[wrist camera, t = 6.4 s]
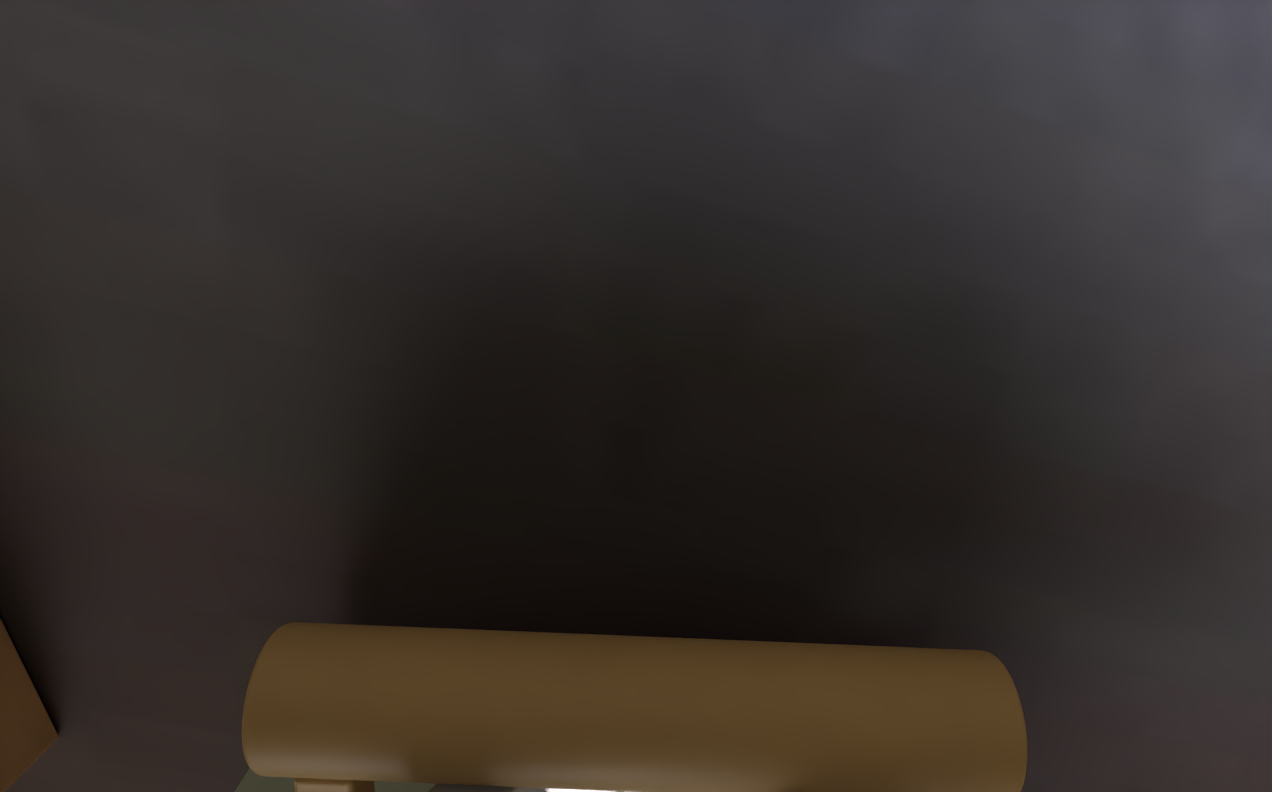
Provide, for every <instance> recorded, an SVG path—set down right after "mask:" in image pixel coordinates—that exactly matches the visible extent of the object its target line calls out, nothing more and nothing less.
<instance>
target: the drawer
mask: <svg viewBox="0 0 1272 792" xmlns="http://www.w3.org/2000/svg"><path fill="white" fill-rule="evenodd" d="M242 745H243V752H244V756H245V759H246V762H247V764H248V766H249V769H248V771H247V773H246V774H245V776H244V777H243V779H242V780H241V782H240V784H239V785H238V787H237V788H236V790H235V791H234V792H428V791H429V790H430V789H431V788H432V787H434V786H435V785H436V784H457V785H481V786H505V787H529V788H553V789H577V790H601V791H625V792H1021V790H1022V787H1023V784H1024V780H1025V775H1026V768H1027V736H1026V727H1025V721H1024V716H1023V711H1022V707H1021V703H1020V699H1019V696H1018V693H1017V690H1016V688H1015V685H1014V683H1013V680H1012V678H1011V676H1010V674H1009V673H1008V671H1007V669H1006V668H1005V666H1004V665H1003V664H1002V662H1001V661H1000V660H999V659H998V658H997V657H996V656H994V655H993V654H991V653H989V652H986V651H983V650H963V649H938V648H914V647H890V646H865V645H841V644H816V643H792V642H768V641H743V640H719V639H694V638H670V637H646V636H621V635H597V634H572V633H548V632H524V631H499V630H475V629H450V628H426V627H402V626H377V625H353V624H328V623H304V622H290V623H287V624H285V625H282V626H281V627H279V628H278V629H277V630H276V631H274V633H273V634H272V635H271V636H270V637H269V639H268V640H267V642H266V643H265V645H264V647H263V648H262V650H261V652H260V654H259V656H258V658H257V661H256V663H255V666H254V668H253V671H252V674H251V677H250V681H249V684H248V688H247V692H246V697H245V702H244V709H243V717H242Z"/></svg>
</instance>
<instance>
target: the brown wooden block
mask: <svg viewBox="0 0 1272 792" xmlns="http://www.w3.org/2000/svg"><path fill="white" fill-rule="evenodd" d="M57 738H58V734H57V732H56V730H55V728H54V726H53V724H52V722H51V720H50V718H49V716H48V714H47V712H46V710H45V708H44V706H43V704H42V702H41V699H40V697H39V695H38V693H37V691H36V689H35V687H34V685H33V683H32V681H31V679H30V677H29V675H28V673H27V671H26V669H25V667H24V665H23V663H22V661H21V659H20V657H19V655H18V653H17V651H16V649H15V647H14V645H13V643H12V641H11V639H10V637H9V634H8V632H7V630H6V628H5V626H4V624H3V622H2V620H1V618H0V792H5V791H6V790H7V789H8V788H9V787H10V786H11V785H12V784H13V783H14V782H15V781H16V780H17V779H18V778H19V777H20V776H21V775H22V774H23V773H24V772H25V771H26V770H27V769H28V768H29V767H30V766H31V765H32V764H33V763H34V762H35V761H36V760H37V759H38V758H39V757H40V756H41V755H42V754H43V753H44V752H45V751H46V750H47V748H48V747H49V746H50V745H51V744H52V743H53V742H54V741H55V740H56V739H57Z"/></svg>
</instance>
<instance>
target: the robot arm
mask: <svg viewBox="0 0 1272 792" xmlns="http://www.w3.org/2000/svg"><path fill="white" fill-rule="evenodd" d="M428 792H625V791H601V790H577V789H553V788H529V787H505V786H481V785H457V784H436V785H435V786H434V787H432V788H431V789H430V790H429V791H428Z"/></svg>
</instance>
